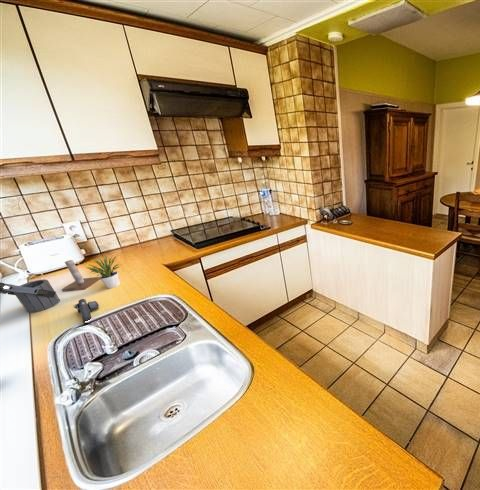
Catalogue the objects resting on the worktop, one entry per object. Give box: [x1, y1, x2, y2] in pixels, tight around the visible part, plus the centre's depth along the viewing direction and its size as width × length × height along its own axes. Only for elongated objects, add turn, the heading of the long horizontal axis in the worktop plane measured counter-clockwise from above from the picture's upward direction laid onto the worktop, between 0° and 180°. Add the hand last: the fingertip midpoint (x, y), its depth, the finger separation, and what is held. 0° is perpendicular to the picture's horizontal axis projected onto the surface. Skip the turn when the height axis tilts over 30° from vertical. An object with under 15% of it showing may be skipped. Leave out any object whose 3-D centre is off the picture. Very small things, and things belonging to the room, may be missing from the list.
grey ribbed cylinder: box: [13, 278, 61, 314], centre depth 119 cm, size 10×10×11 cm
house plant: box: [84, 253, 122, 289], centre depth 133 cm, size 14×14×16 cm
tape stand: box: [61, 259, 101, 293], centre depth 134 cm, size 10×10×14 cm
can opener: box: [72, 298, 99, 323], centre depth 111 cm, size 18×7×6 cm, turn 44°
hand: (41, 294), depth 120 cm, fingers open, 13 cm apart
